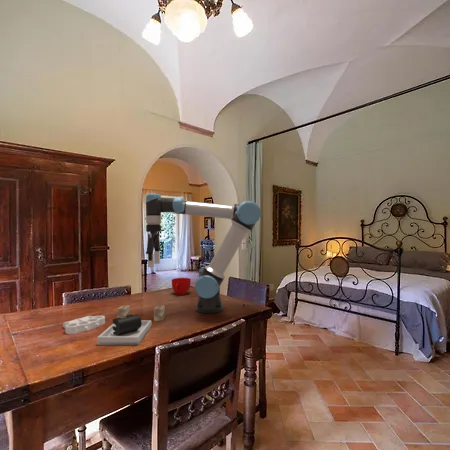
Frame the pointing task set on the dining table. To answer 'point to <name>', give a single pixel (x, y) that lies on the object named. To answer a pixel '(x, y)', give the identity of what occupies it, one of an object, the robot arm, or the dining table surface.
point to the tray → (124, 335)
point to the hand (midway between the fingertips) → (154, 265)
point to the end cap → (126, 324)
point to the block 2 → (159, 313)
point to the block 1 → (123, 311)
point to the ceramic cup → (181, 285)
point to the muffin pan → (83, 324)
